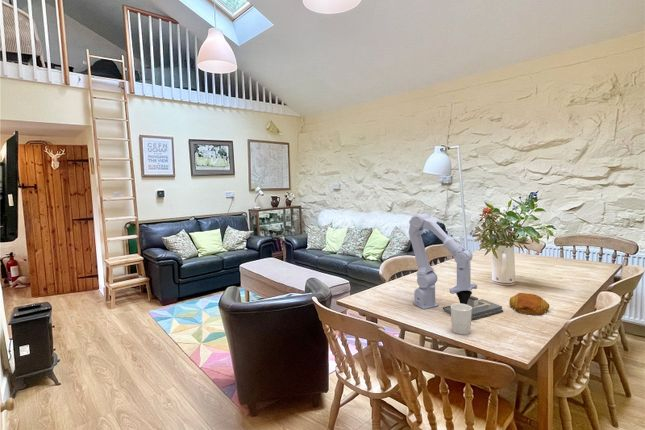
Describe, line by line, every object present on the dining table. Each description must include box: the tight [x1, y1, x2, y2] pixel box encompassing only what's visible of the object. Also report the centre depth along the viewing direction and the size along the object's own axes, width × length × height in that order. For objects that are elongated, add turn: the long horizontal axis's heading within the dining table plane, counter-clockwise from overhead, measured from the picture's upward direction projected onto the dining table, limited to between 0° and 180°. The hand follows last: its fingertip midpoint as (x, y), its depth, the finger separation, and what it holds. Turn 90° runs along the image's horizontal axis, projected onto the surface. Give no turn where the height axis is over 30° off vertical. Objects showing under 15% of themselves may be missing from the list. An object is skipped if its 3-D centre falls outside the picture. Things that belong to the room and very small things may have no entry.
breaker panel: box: [443, 298, 503, 318], centre depth 160 cm, size 24×11×3 cm, turn 114°
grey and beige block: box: [468, 295, 479, 307], centre depth 160 cm, size 2×4×4 cm
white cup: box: [450, 302, 473, 336], centre depth 139 cm, size 8×8×10 cm
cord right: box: [471, 309, 504, 322], centre depth 153 cm, size 20×1×1 cm, turn 114°
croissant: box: [508, 292, 551, 316], centre depth 158 cm, size 14×16×8 cm
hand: (463, 306), depth 157 cm, fingers closed
